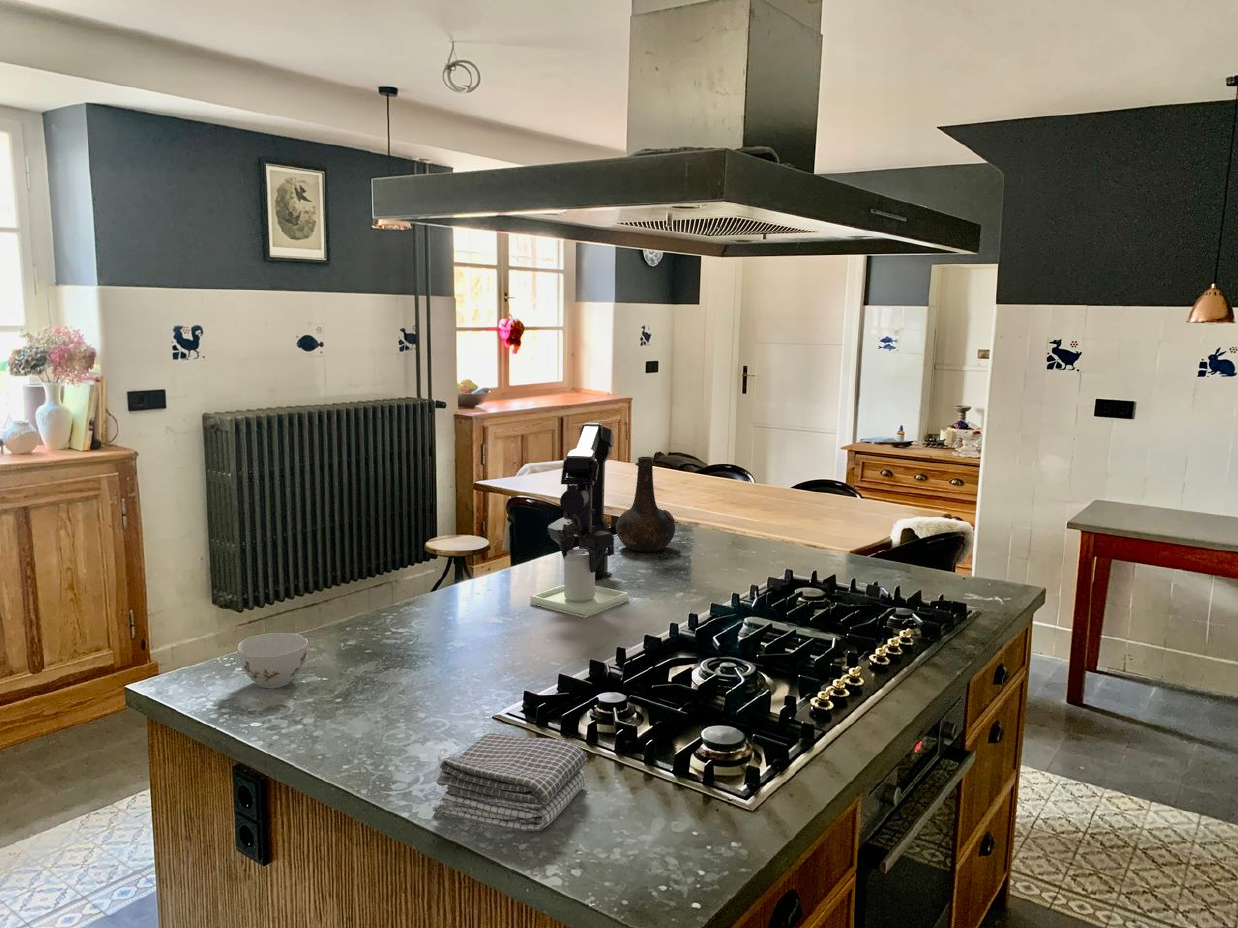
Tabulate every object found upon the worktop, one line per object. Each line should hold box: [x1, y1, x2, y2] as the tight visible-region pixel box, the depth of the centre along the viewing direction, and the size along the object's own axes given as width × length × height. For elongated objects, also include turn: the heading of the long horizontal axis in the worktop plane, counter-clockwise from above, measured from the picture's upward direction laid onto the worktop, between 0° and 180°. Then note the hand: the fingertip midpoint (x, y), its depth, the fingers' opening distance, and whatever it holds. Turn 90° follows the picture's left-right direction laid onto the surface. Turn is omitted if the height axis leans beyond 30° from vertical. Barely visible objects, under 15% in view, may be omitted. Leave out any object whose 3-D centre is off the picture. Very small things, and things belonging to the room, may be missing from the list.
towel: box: [433, 732, 589, 833], centre depth 134 cm, size 15×18×8 cm
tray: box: [529, 584, 629, 619], centre depth 228 cm, size 17×17×2 cm
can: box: [563, 548, 596, 603], centre depth 227 cm, size 8×8×12 cm
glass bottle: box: [615, 456, 676, 553], centre depth 280 cm, size 18×18×28 cm
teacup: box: [237, 632, 309, 689], centre depth 177 cm, size 15×12×8 cm
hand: (579, 568), depth 227 cm, fingers open, 9 cm apart
